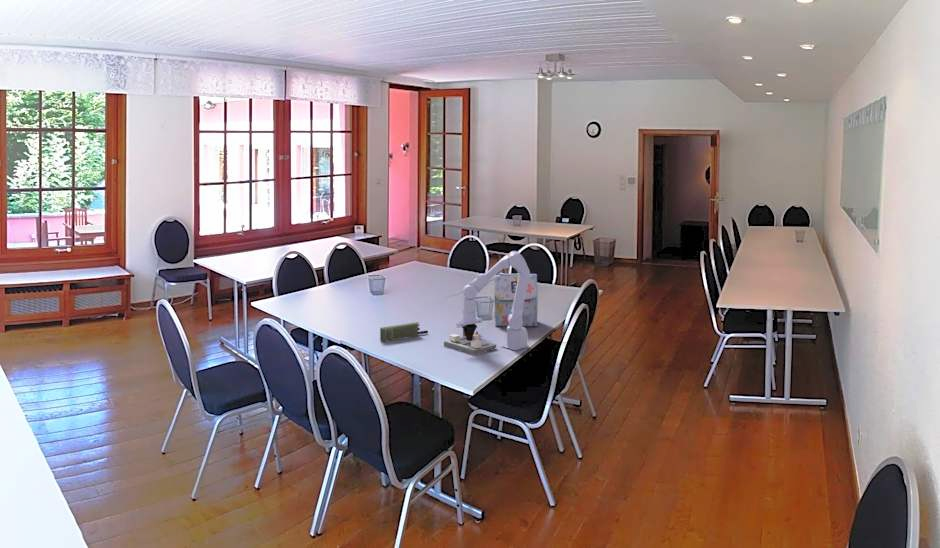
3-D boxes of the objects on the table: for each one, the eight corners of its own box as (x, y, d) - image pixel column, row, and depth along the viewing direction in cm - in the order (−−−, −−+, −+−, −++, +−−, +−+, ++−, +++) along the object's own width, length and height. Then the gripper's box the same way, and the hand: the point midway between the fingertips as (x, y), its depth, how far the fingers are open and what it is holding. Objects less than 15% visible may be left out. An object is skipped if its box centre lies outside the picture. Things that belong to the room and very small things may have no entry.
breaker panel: (465, 340, 358) (465, 335, 357) (496, 348, 344) (496, 344, 343) (443, 345, 348) (443, 341, 348) (474, 355, 334) (474, 350, 334)
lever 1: (454, 339, 351) (454, 334, 350) (459, 340, 348) (459, 335, 348) (449, 340, 349) (449, 335, 348) (454, 342, 346) (454, 336, 346)
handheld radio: (379, 340, 357) (425, 333, 370) (382, 342, 354) (429, 335, 367) (379, 327, 355) (425, 320, 368) (382, 329, 352) (429, 321, 366)
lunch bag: (493, 328, 379) (493, 276, 374) (493, 319, 396) (494, 270, 391) (537, 329, 379) (539, 277, 374) (536, 320, 395) (537, 270, 390)
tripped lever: (474, 339, 350) (474, 334, 349) (479, 341, 347) (479, 335, 347) (469, 341, 348) (469, 335, 347) (475, 342, 345) (475, 336, 345)
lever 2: (475, 345, 341) (475, 340, 340) (481, 347, 338) (481, 341, 338) (470, 346, 339) (470, 341, 338) (476, 348, 336) (476, 343, 336)
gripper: (474, 307, 350) (474, 335, 353) (451, 312, 340) (451, 341, 343) (485, 309, 345) (485, 338, 348) (462, 315, 335) (462, 344, 338)
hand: (469, 340), depth 345 cm, fingers closed
